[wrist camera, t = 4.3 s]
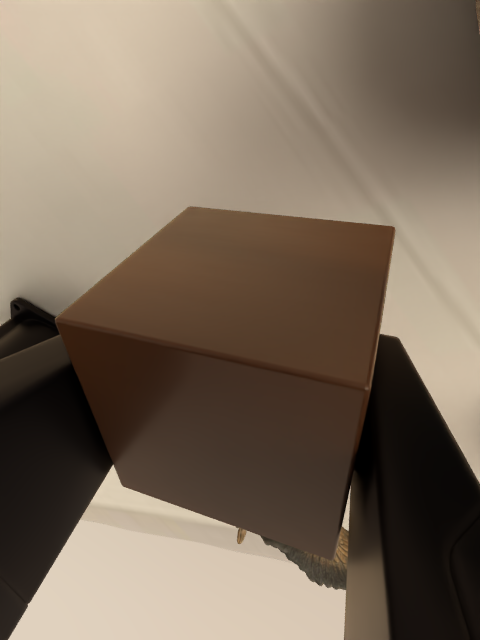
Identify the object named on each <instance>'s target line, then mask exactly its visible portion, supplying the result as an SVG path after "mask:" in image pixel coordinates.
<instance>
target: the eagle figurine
mask: <svg viewBox="0 0 480 640" xmlns="http://www.w3.org/2000/svg"><path fill="white" fill-rule="evenodd" d="M236 528H238V527H236ZM245 535H246V530H244V529H241V528H239V530H238V536H237V543H238V544H241V543H242V541H243V540H244V537H245ZM261 538H262V539H263V541H264V543H265V544H266V545H271V546H273V547H275V548H278V549H279V550H280V551H281V552H283V553H285V555H286V557H287V559H288V560H290V561H292V562H294V563H295V564H297V565H298V566H299V569H300V570H302V571H304V572H305V573H306V575H307V576H308V578H309V579H310V580H311V581H312V582H316V583H317V584H318V585H319V586H322V585H323V584H325V585H326V587H327V588H330V587H333V588H335V589H343V590H346V584H347V561H348V538H349V531H347V530H346V529H344V528H343V527H341V532H340V537H339V541H338V546H337V551H336V555H335V558H334V560H328V559H325V558H323V557H320V556H317V555H314V554H311V553H309V552H306V551H303V550H300V549H297V548H294V547H292V546H289V545H286V544H283V543H280V542H278V541H275V540H272V539H269V538H266V537H264V536H261Z"/></svg>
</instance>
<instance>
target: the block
mask: <svg viewBox="0 0 480 640" xmlns="http://www.w3.org/2000/svg"><path fill="white" fill-rule="evenodd" d="M395 231H396V230H395V227H393V226H384V225H374V224H363V223H353V222H343V221H333V220H323V219H312V218H302V217H292V216H282V215H272V214H261V213H251V212H241V211H231V210H221V209H210V208H200V207H188V208H186V209H185V210H184V211H183V212H182V213H180V214H179V215H178V216H177V217H176V218H174V219H173V220H172V221H171V222H170V223H168V224H167V225H166V226H165V227H164V228H162V229H161V230H160V231H159V232H158V233H156V234H155V235H154V236H153V237H152V238H150V239H149V240H148V241H147V242H146V243H144V244H143V245H142V246H141V247H140V248H138V249H137V250H136V251H135V252H134V253H132V254H131V255H130V256H129V257H128V258H126V259H125V260H124V261H123V262H122V263H121V264H119V265H118V266H117V267H116V268H115V269H113V270H112V271H111V272H110V273H109V274H107V275H106V276H105V277H104V278H103V279H101V280H100V281H99V282H98V283H97V284H95V285H94V286H93V287H92V288H91V289H89V290H88V291H87V292H86V293H85V294H83V295H82V296H81V297H80V298H79V299H77V300H76V301H75V302H74V303H73V304H71V305H70V306H69V307H68V308H67V309H65V310H64V311H63V312H62V313H61V314H59V315H58V316H57V317H56V319H55V323H56V326H57V328H58V331H59V333H60V336H61V338H62V341H63V343H64V345H65V348H66V350H67V353H68V355H69V358H70V360H71V362H72V365H73V367H74V370H75V372H76V375H77V377H78V379H79V382H80V384H81V387H82V389H83V392H84V394H85V396H86V399H87V401H88V404H89V406H90V409H91V411H92V413H93V416H94V418H95V421H96V423H97V426H98V428H99V430H100V433H101V435H102V438H103V440H104V443H105V445H106V448H107V450H108V452H109V455H110V457H111V460H112V462H113V465H114V467H115V469H116V472H117V474H118V477H119V479H120V482H121V484H122V486H123V487H126V488H129V489H132V490H135V491H137V492H140V493H143V494H146V495H149V496H151V497H154V498H157V499H160V500H163V501H165V502H168V503H171V504H174V505H177V506H179V507H182V508H185V509H188V510H191V511H193V512H196V513H199V514H202V515H205V516H208V517H210V518H213V519H216V520H219V521H222V522H224V523H227V524H230V525H233V526H236V527H238V528H241V529H244V530H247V531H250V532H252V533H255V534H258V535H261V536H264V537H266V538H269V539H272V540H275V541H278V542H280V543H283V544H286V545H289V546H292V547H294V548H297V549H300V550H303V551H306V552H309V553H311V554H314V555H317V556H320V557H323V558H325V559H328V560H334V558H335V555H336V551H337V546H338V541H339V537H340V532H341V527H342V523H343V518H344V513H345V509H346V504H347V499H348V495H349V490H350V485H351V481H352V476H353V471H354V467H355V462H356V457H357V453H358V448H359V443H360V439H361V434H362V429H363V425H364V420H365V415H366V411H367V406H368V401H369V397H370V392H371V387H372V380H373V374H374V367H375V361H376V354H377V348H378V341H379V335H380V328H381V322H382V315H383V309H384V302H385V296H386V289H387V283H388V276H389V270H390V263H391V257H392V250H393V244H394V237H395Z"/></svg>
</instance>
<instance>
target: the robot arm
mask: <svg viewBox="0 0 480 640" xmlns="http://www.w3.org/2000/svg"><path fill="white" fill-rule="evenodd" d="M55 319H56V318H54V317H52V316H50V315H49V314H47V313H45V312H43V311H42V310H40V309H38V308H36V307H35V306H33V305H31V304H29V303H28V302H26V301H24V300H22V299H20V298H16V299H14V300H13V301H12V302H11V319H9V320H8V321H7V322H5V323H4V324H3V325H1V326H0V640H8V639H9V637H10V635H11V634H12V632H13V630H14V629H15V627H16V625H17V623H18V622H19V620H20V619H21V617H22V615H23V614H24V612H25V610H26V609H27V607H28V603H30V601H31V600H32V598H33V596H34V595H35V593H36V592H37V590H38V588H39V587H40V585H41V583H42V582H43V580H44V578H45V577H46V575H47V573H48V572H49V570H50V568H51V567H52V565H53V563H54V562H55V560H56V558H57V557H58V555H59V553H60V552H61V550H62V548H63V547H64V545H65V543H66V542H67V540H68V538H69V537H70V535H71V533H72V532H73V530H74V528H75V527H76V525H77V523H78V522H79V520H80V518H81V517H82V515H83V513H84V512H85V510H86V509H87V507H88V505H89V504H90V502H91V500H92V499H93V497H94V495H95V494H96V492H97V490H98V489H99V487H100V485H101V484H102V482H103V480H104V479H105V477H106V475H107V474H108V472H109V470H110V469H111V467H112V465H113V462H112V460H111V457H110V455H109V452H108V450H107V448H106V445H105V443H104V440H103V438H102V435H101V433H100V430H99V428H98V426H97V423H96V421H95V418H94V416H93V413H92V411H91V409H90V406H89V404H88V401H87V399H86V396H85V394H84V392H83V389H82V387H81V384H80V382H79V379H78V377H77V375H76V372H75V370H74V367H73V365H72V362H71V360H70V358H69V355H68V353H67V350H66V348H65V345H64V343H63V341H62V338H61V336H60V333H59V331H58V328H57V326H56V323H55ZM345 608H346V609H345V632H344V640H480V483H479V482H478V480H477V478H476V476H475V474H474V473H473V471H472V469H471V467H470V465H469V464H468V462H467V460H466V458H465V456H464V455H463V453H462V451H461V449H460V447H459V446H458V444H457V442H456V440H455V438H454V437H453V435H452V433H451V431H450V429H449V428H448V426H447V424H446V422H445V420H444V419H443V417H442V415H441V413H440V411H439V410H438V408H437V406H436V404H435V402H434V401H433V399H432V397H431V395H430V393H429V392H428V390H427V388H426V386H425V384H424V383H423V381H422V379H421V377H420V375H419V374H418V372H417V370H416V368H415V366H414V365H413V363H412V361H411V359H410V357H409V356H408V354H407V352H406V350H405V348H404V347H403V345H402V343H401V341H400V340H399V338H397V337H394V336H389V335H383V334H380V335H379V341H378V348H377V354H376V361H375V367H374V374H373V380H372V387H371V392H370V397H369V401H368V406H367V411H366V415H365V420H364V425H363V429H362V434H361V439H360V443H359V448H358V453H357V457H356V462H355V467H354V471H353V476H352V481H351V493H350V516H349V538H348V561H347V584H346V607H345Z"/></svg>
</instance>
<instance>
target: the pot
mask: <svg viewBox="0 0 480 640" xmlns="http://www.w3.org/2000/svg"><path fill="white" fill-rule="evenodd" d="M476 13H477V20H478V26H479V33H480V0H476Z"/></svg>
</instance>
